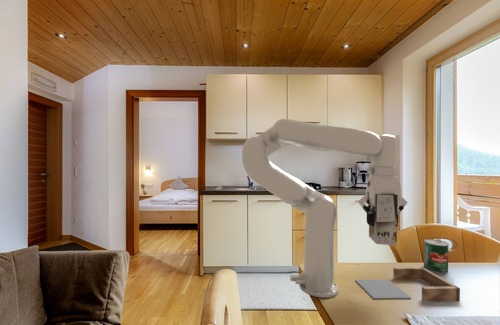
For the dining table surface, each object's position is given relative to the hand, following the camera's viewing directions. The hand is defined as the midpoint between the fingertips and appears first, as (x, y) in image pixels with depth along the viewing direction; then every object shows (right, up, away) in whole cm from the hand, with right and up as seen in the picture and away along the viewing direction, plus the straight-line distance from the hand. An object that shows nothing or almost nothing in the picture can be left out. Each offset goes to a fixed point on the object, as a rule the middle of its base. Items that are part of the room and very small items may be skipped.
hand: (382, 224), depth 84 cm
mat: (0, -22, 0) cm, 22 cm away
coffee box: (0, -6, 0) cm, 6 cm away
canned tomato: (+30, -22, +16) cm, 41 cm away
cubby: (+14, -22, +1) cm, 26 cm away
